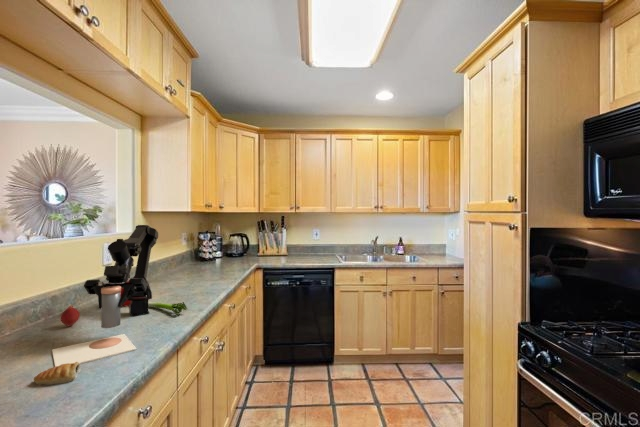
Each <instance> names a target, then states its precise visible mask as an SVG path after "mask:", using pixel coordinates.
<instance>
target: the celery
mask: <svg viewBox="0 0 640 427" xmlns="http://www.w3.org/2000/svg"><path fill="white" fill-rule="evenodd" d="M148 308H156V309H163V310H164V309H165V310H168V311H171V312H173V315H175V314H176V316H177V317H179V313H182V312H183V311H186V310H188V307H187V305H186V303H185V301H182V302H177V303H172V304H169V303H162V302H154V301H148ZM182 310H183V311H182Z"/></svg>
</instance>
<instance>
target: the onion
mask: <svg viewBox="0 0 640 427" xmlns="http://www.w3.org/2000/svg"><path fill="white" fill-rule="evenodd" d="M80 315H81V314H80V311H79V310H78V309H77V308H75V307H74V306H73V304H72V305H69V306H68V307H67V308H66V309H65V310H64V311H63V312H61V315H60V322H61V323H62V324H63V325H65V326H68V327H72V326H74V324H76V323H77V322H78V321H79V319H80Z"/></svg>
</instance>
